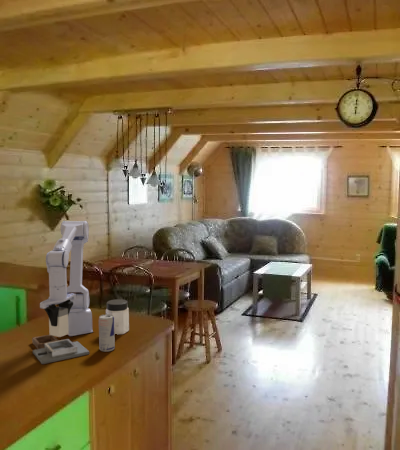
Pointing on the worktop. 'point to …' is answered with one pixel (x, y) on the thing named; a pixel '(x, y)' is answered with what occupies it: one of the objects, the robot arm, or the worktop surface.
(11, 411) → the worktop surface
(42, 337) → the brown square tray
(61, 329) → the plug
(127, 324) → the jar
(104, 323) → the energy drink
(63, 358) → the socket board
